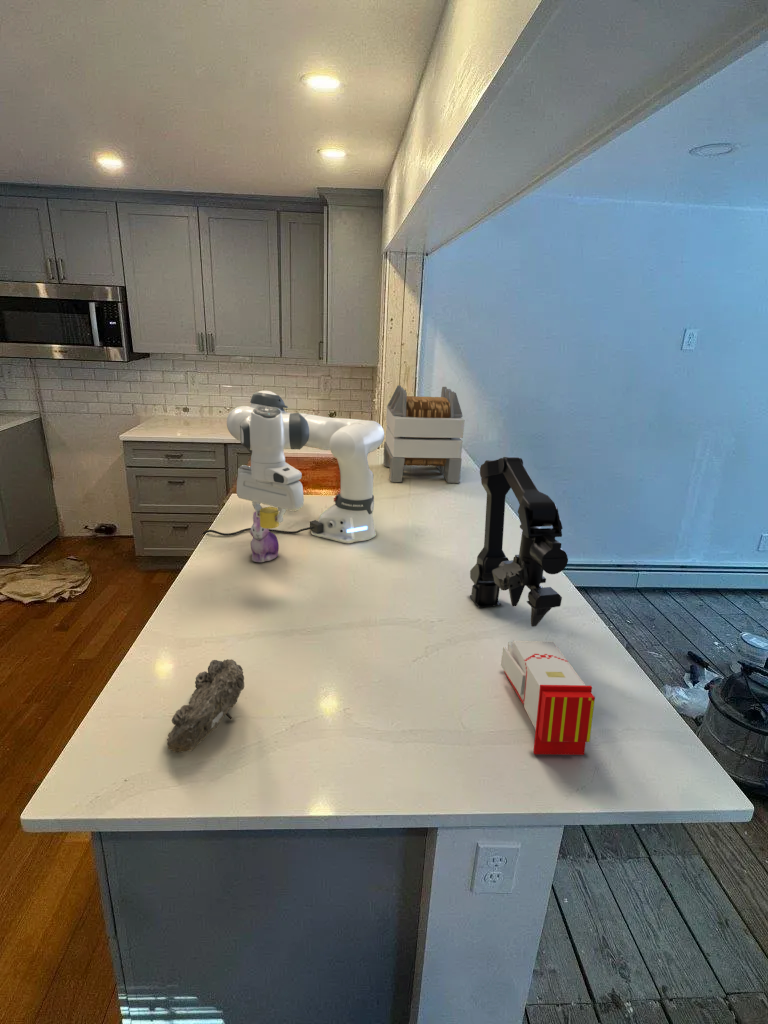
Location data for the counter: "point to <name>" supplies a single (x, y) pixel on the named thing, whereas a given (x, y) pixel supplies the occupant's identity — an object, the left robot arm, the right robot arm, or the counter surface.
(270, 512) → the yellow cylinder
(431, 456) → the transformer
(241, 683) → the fossil
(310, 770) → the counter surface
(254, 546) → the figurine
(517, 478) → the right robot arm
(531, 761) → the counter surface
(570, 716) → the toy
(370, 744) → the counter surface
